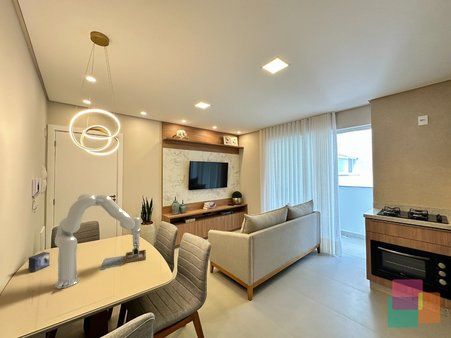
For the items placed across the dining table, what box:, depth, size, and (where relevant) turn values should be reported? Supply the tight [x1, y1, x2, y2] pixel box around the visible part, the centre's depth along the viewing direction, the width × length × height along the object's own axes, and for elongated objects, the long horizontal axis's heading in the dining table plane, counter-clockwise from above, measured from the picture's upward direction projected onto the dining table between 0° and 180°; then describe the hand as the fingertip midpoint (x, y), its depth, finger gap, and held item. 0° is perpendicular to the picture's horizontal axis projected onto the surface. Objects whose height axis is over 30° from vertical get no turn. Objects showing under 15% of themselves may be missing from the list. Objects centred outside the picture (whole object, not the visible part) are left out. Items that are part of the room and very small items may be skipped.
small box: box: [27, 251, 51, 273], centre depth 150 cm, size 11×6×10 cm, turn 168°
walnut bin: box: [123, 249, 147, 264], centre depth 167 cm, size 16×16×3 cm
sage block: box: [131, 248, 140, 258], centre depth 167 cm, size 5×5×7 cm
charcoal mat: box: [99, 255, 125, 271], centre depth 159 cm, size 20×14×1 cm
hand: (136, 251), depth 167 cm, fingers open, 9 cm apart
